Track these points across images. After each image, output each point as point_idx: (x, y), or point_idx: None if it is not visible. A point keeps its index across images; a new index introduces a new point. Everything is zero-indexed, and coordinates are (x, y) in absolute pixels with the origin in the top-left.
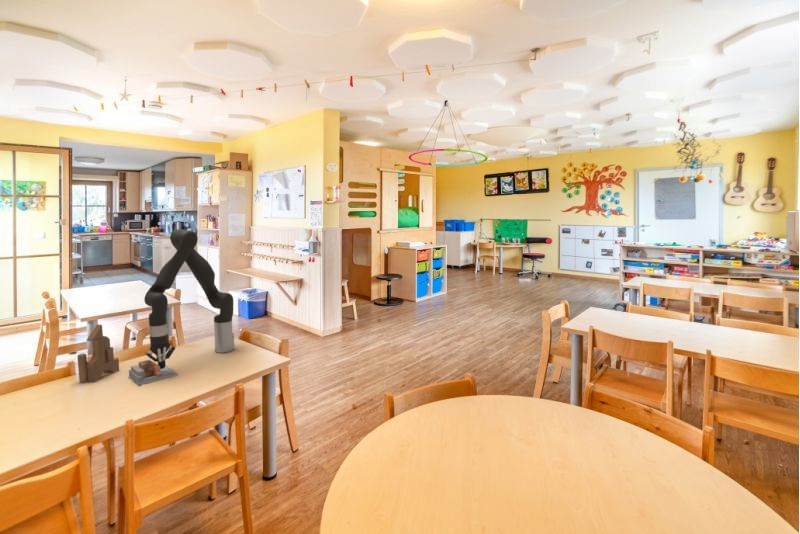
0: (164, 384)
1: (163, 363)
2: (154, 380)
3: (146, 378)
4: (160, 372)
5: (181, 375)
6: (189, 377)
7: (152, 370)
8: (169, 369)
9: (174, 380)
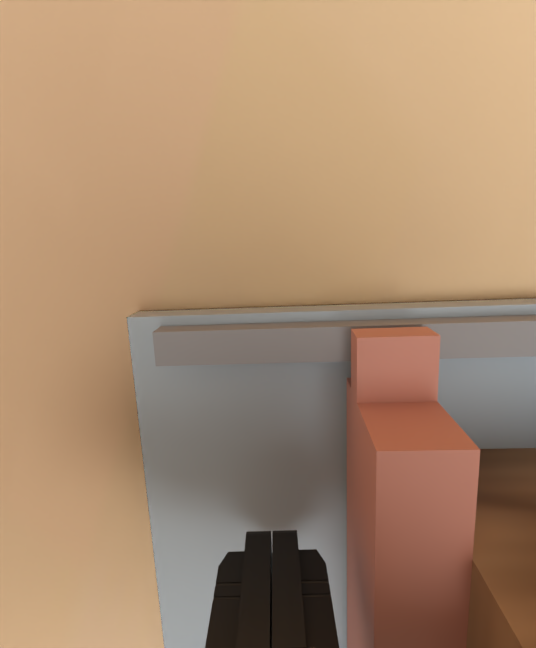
0: (393, 70)
1: (251, 602)
2: (454, 304)
3: (527, 418)
4: (372, 364)
5: (98, 259)
6: (23, 88)
7: None
8: (176, 527)
9: (231, 130)
